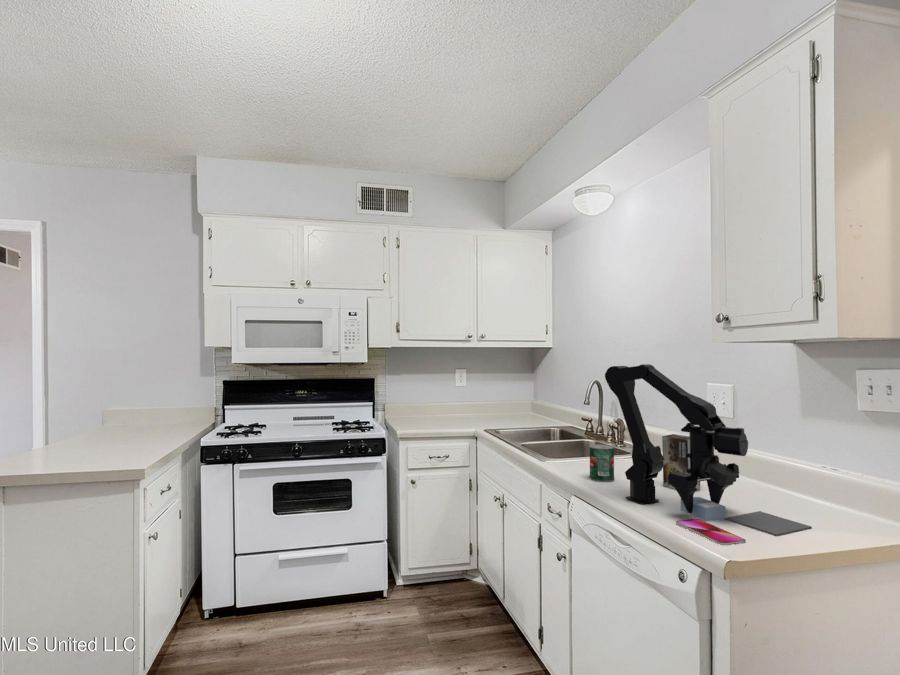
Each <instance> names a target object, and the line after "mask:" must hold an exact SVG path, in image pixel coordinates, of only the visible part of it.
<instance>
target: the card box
mask: <svg viewBox="0 0 900 675" xmlns="http://www.w3.org/2000/svg"><path fill="white" fill-rule="evenodd" d="M680 512H683V513H685V512H686V514H688V515H690V516H693V517H695V518H696V519H699V518H700V520H703V521H705V522H712V521H722V520H726V519H725V518H726V505H725V506H724V505H722V504H720V503H719V504H717V503H715V502H712V501H711V500H709V499H706V498H703V497H701V496H693V511H692V513H688V511H687V509H686V507H685V505H684V503H683V501H682V499H681V498H680Z"/></svg>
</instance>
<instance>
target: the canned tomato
mask: <svg viewBox="0 0 900 675" xmlns="http://www.w3.org/2000/svg"><path fill="white" fill-rule="evenodd" d="M614 448H615V447H614V446H613V445H610V444H601V443H600V444H590V445H589V480H591V481H593V480H594V482H597V481H599V482H598V483H611V482H614V481H615V449H614Z"/></svg>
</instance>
